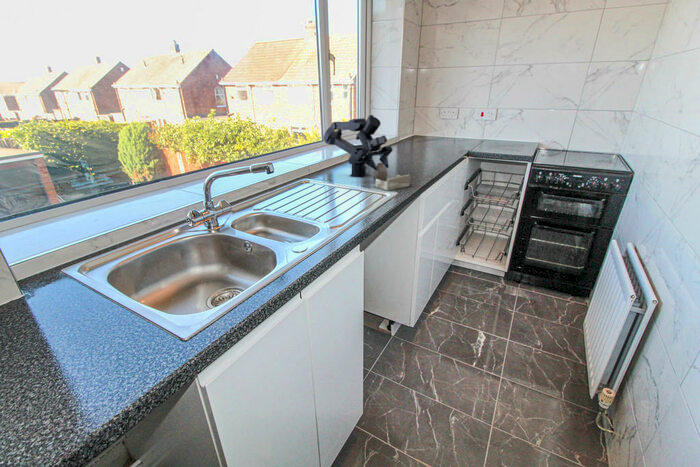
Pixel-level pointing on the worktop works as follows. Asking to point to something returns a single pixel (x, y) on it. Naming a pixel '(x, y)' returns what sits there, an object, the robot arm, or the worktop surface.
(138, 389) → the worktop surface
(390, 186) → the shoe shelf
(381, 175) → the vase
